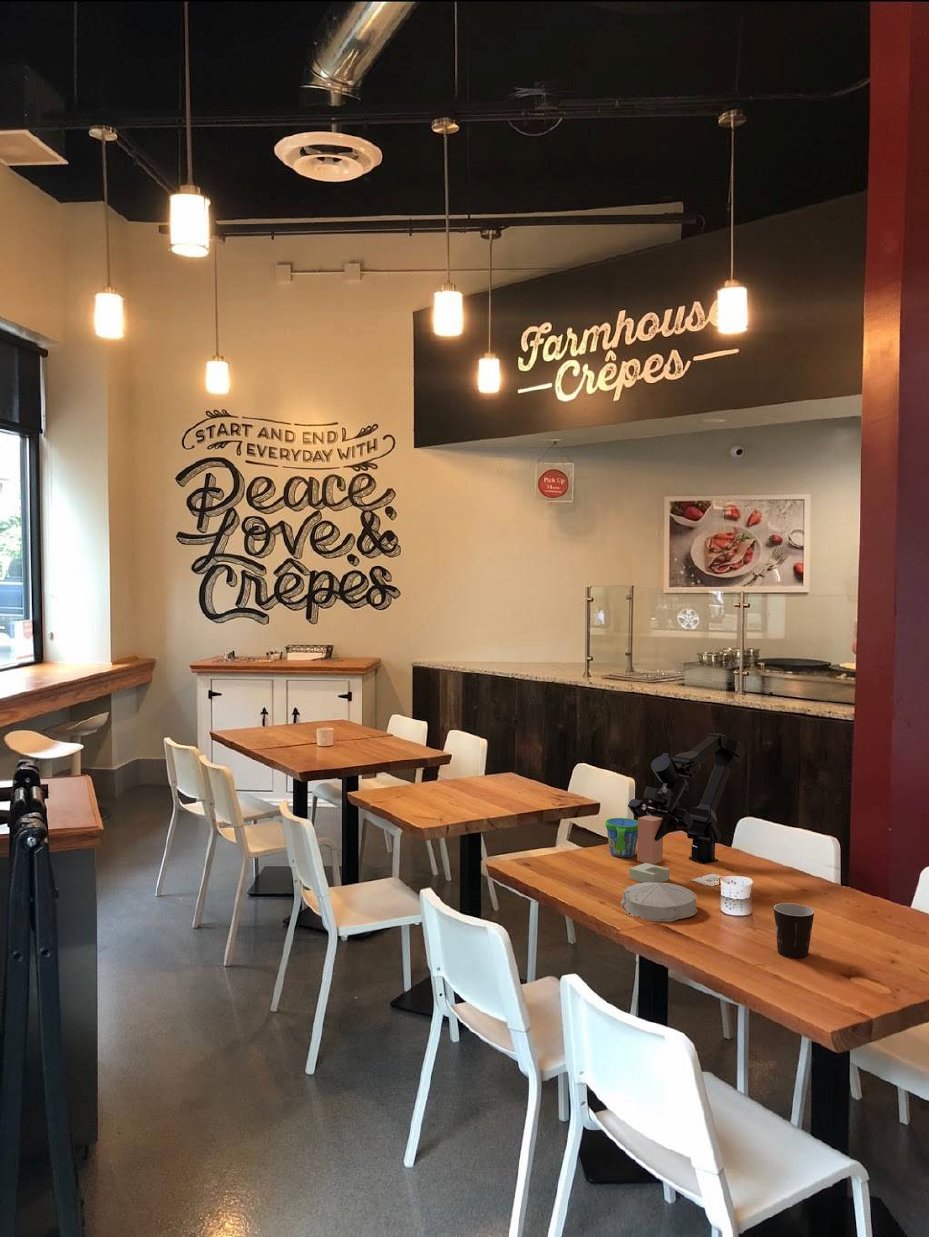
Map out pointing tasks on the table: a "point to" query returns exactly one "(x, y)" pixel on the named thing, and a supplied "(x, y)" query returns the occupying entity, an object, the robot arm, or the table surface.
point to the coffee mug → (793, 929)
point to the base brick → (649, 873)
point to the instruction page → (708, 880)
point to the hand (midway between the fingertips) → (647, 838)
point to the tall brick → (649, 840)
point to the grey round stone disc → (659, 901)
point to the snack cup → (622, 836)
